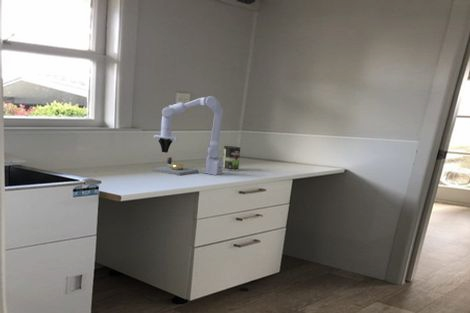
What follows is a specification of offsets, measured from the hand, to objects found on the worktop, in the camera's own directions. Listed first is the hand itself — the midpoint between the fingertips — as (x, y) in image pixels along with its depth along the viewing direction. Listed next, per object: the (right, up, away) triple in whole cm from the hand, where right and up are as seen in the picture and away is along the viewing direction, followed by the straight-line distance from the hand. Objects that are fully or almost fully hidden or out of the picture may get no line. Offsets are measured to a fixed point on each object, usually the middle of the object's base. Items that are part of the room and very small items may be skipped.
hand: (164, 152), depth 261 cm
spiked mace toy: (+5, -9, +2) cm, 10 cm away
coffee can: (+37, -11, +26) cm, 46 cm away
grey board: (+6, -11, 0) cm, 13 cm away
